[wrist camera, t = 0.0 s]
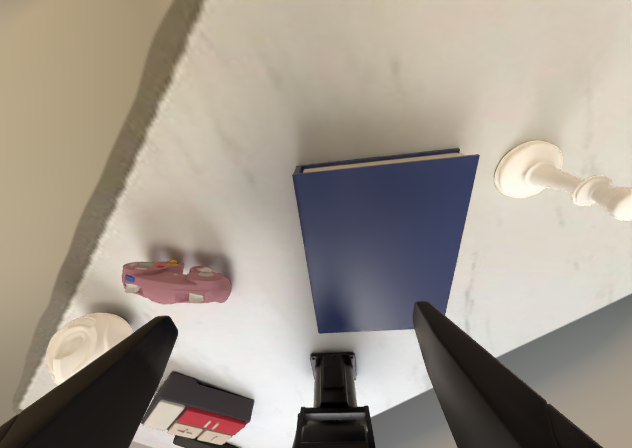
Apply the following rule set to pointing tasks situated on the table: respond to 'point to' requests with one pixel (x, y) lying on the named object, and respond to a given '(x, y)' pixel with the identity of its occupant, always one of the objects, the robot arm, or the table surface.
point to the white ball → (83, 343)
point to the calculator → (197, 411)
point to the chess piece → (558, 179)
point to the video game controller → (175, 283)
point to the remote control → (197, 443)
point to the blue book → (382, 235)
